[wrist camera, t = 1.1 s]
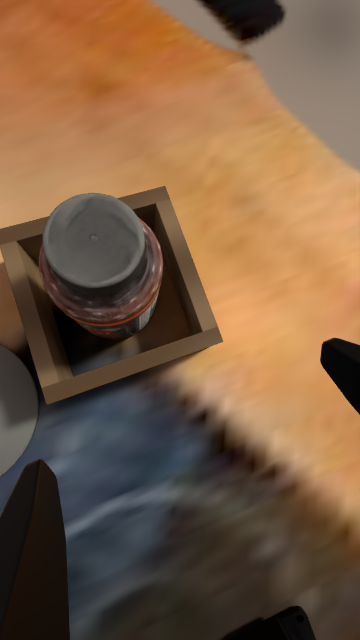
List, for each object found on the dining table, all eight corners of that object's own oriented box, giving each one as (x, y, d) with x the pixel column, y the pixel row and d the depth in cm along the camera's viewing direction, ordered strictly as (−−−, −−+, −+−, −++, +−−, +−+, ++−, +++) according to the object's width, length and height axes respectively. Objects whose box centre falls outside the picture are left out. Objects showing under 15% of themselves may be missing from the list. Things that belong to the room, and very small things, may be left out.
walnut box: (209, 346, 24) (223, 341, 20) (63, 399, 22) (46, 404, 18) (161, 215, 25) (165, 185, 21) (20, 254, 23) (-6, 230, 19)
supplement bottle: (62, 326, 23) (-16, 282, 11) (90, 252, 24) (45, 146, 13) (142, 351, 23) (141, 332, 12) (166, 277, 24) (186, 195, 13)
